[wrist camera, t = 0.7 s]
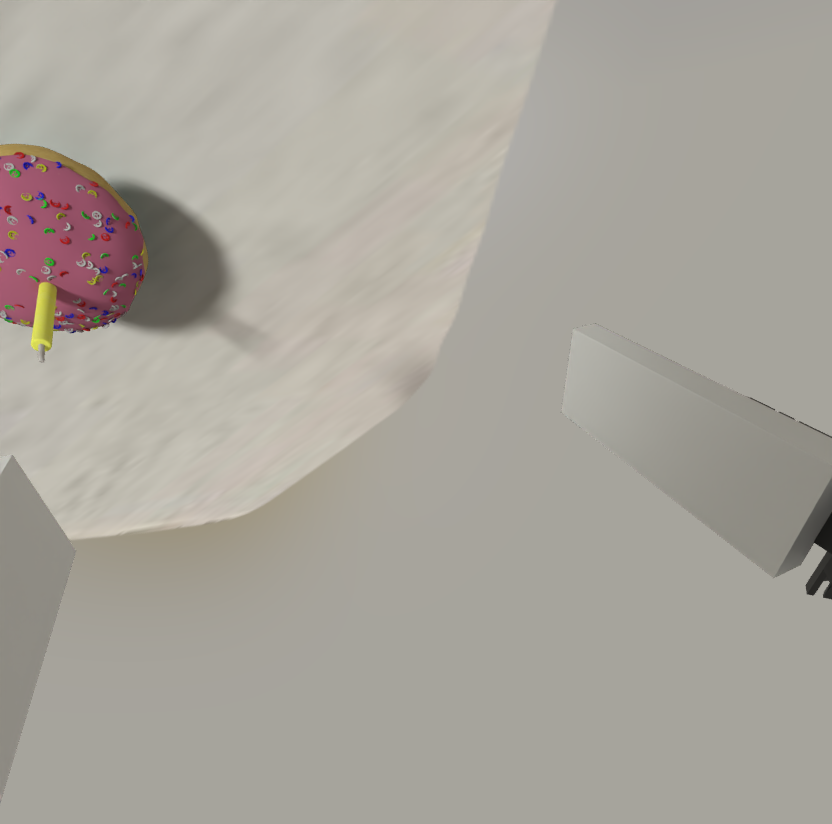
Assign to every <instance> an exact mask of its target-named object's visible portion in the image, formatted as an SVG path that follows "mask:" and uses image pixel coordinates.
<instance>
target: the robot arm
mask: <svg viewBox="0 0 832 824" xmlns="http://www.w3.org/2000/svg"><path fill="white" fill-rule="evenodd" d="M561 413H562V414H564V415H565V416H566V417H568V418H569V419H570V420H571V421H573V422H574V423H575V424H577V425H578V426H579V427H580V428H582V429H583V430H584V431H586V432H587V433H588V434H589V435H591V436H592V437H593V438H595V439H596V440H597V441H598V442H600V443H601V444H602V445H603V446H605V447H606V448H607V449H609V450H610V451H611V452H613V453H614V454H615V455H616V456H618V457H619V458H620V459H622V460H623V461H624V462H626V463H627V464H628V465H629V466H630V467H632V468H633V469H634V470H636V471H637V472H638V473H639V474H641V475H642V476H643V477H644V478H646V479H647V480H648V481H650V482H651V483H652V484H654V485H655V486H656V487H658V488H659V489H660V490H661V491H663V492H664V493H665V494H666V495H668V496H669V497H670V498H671V499H673V500H674V501H675V502H677V503H678V504H679V505H681V506H682V507H683V508H684V509H686V510H687V511H688V512H689V513H691V514H692V515H693V516H695V517H696V518H697V519H698V520H700V521H701V522H702V523H703V524H705V525H706V526H707V527H709V528H710V529H711V530H713V531H714V532H715V533H717V534H718V535H719V536H720V537H721V538H723V539H724V540H725V541H727V542H728V543H729V544H731V545H732V546H733V547H734V548H736V549H737V550H738V551H739V552H741V553H742V554H743V555H745V556H746V557H747V558H748V559H750V560H751V561H752V562H753V563H755V564H756V565H757V566H759V567H760V568H762V570H764V571H765V572H766V573H768V574H769V575H770V576H772V577H773V578H775V577H777V576H779V575H781V574H783V573H785V572H787V571H789V570H791V569H793V568H796V567H797V566H799V565H801V564H802V562H803V560H804V559H805V557H806V555H807V554H808V552H809V550H810V549H811V547H812V546H813V544H814V543H816V544H817V545H819V546H820V547H822V548H823V549H825V550H826V551H827V552H826V554H825V556H824V557H823V559H822V560H821V562H820V563H819V565H818V567H817V568H816V570H815V571H814V573H813V574H812V576H811V578H810V579H809V581H808V582H807V584H806V591H807V594H809V595H814V594H815V593H816V591H817V590H818V588H819V587H820V585H821V584H822V582H823V581H829V582H830V584H829V585H828V587H827V588H826V590H825V591H824V594H823V598H829V599H832V437H831V436H829V435H827V434H825V433H823V432H821V431H819V430H816V429H814V428H812V427H810V426H808V425H806V424H804V423H802V422H798V421H796V420H795V419H794V418H792V417H790V416H788V415H785V414H783V413H781V412H777V411H775V409H773V408H771V407H769V406H767V405H765V404H763V403H761V402H759V401H757V400H754V399H752V398H749V397H746V396H744V395H742V394H740V393H738V392H736V391H734V390H732V389H730V388H728V387H725V386H723V385H721V384H719V383H717V382H715V381H713V380H711V379H709V378H707V377H705V376H703V375H701V374H699V373H696V372H694V371H693V370H690V369H688V368H686V367H684V366H682V365H680V364H678V363H676V362H674V361H672V360H670V359H668V358H666V357H664V356H662V355H659V354H658V353H655V352H653V351H651V350H649V349H647V348H645V347H643V346H641V345H639V344H637V343H635V342H633V341H631V340H629V339H627V338H625V337H622V336H620V335H618V334H616V333H614V332H612V331H610V330H608V329H606V328H604V327H602V326H600V325H598V324H596V323H595V324H590V325H586V326H582V327H577V328H573V332H572V339H571V345H570V352H569V359H568V367H567V373H566V380H565V387H564V394H563V401H562V408H561ZM75 553H76V550H75V548H74V547H73V545H72V544H71V542H70V541H69V539H68V538H67V536H66V535H65V533H64V532H63V530H62V529H61V527H60V526H59V524H58V523H57V521H56V520H55V518H54V517H53V515H52V514H51V512H50V510H49V509H48V507H47V506H46V504H45V503H44V501H43V500H42V498H41V497H40V495H39V494H38V492H37V491H36V489H35V488H34V486H33V485H32V483H31V482H30V480H29V479H28V477H27V476H26V474H25V473H24V471H23V470H22V468H21V467H20V465H19V464H18V462H17V461H16V459H15V458H14V456H13V455H8V456H3V457H0V802H1V799H2V796H3V792H4V789H5V786H6V782H7V779H8V776H9V773H10V769H11V766H12V762H13V759H14V756H15V753H16V749H17V746H18V742H19V739H20V736H21V733H22V729H23V726H24V723H25V719H26V716H27V713H28V709H29V706H30V703H31V699H32V696H33V693H34V689H35V686H36V683H37V679H38V676H39V673H40V669H41V666H42V663H43V659H44V656H45V653H46V649H47V646H48V643H49V640H50V636H51V633H52V630H53V626H54V623H55V620H56V616H57V613H58V610H59V606H60V603H61V599H62V596H63V593H64V590H65V586H66V583H67V580H68V576H69V573H70V570H71V567H72V563H73V560H74V556H75Z"/></svg>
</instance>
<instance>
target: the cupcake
mask: <svg viewBox="0 0 832 824" xmlns="http://www.w3.org/2000/svg"><path fill="white" fill-rule="evenodd" d="M147 266H148V253H147V249H146V245H145V241H144V238H143V236H142V233H141V230H140V227H139V223H138V220H137V217H136V215H135V213H134V212H133V210H132V209H131V208H130V207H129V206H128V204H127V203H126V202H125V201H124V200H123V199H122V198H121V197H120V196H119V195H118V194H117V193H116V191H115V190H114V189H113V188H112V187H111V186H110V185H109V184H108V183H107V182H106V181H105V180H104V179H103V178H102V177H101V176H100V175H99V174H98V173H97V172H95V171H94V170H92V169H90V168H89V167H87V166H85V165H83V164H80V163H78V162H76V161H74V160H72V159H70V158H68V157H66V156H64V155H62V154H59V153H57V152H55V151H53V150H50V149H47V148H44V147H40V146H34V145H25V144H6V145H0V318H3V319H4V320H5V321H7V322H10V323H13V324H19V325H21V326H29V327H33V333H32V340H31V346H32V347H33V348H34V349H35V350H37V351H38V360H39V362H41V363H43V362H44V360H45V359H44V355H45V351H48V350H50V349H51V347H52V338H53V331H66V332H68V333H74V332H76V331H78V332H81V333H82V332H84V331H83V330H85V331H90V329H97V328H98V327H100V326H102V327H103V328H107V327H109V323H110V322H112V323H115V322H116V319H118V318H119V317H121V316H124V315H125V314H126V312H127V311H128V310H129V308H130V305H131V303H132V301H133V299H134V297H135V295H136V293H137V292H138V290H139V288H140V286H141V284H142V281H143V279H144V277H145V274H146V271H147ZM106 324H107V325H106ZM104 325H105V326H106V327H105V326H104ZM72 331H73V332H72Z"/></svg>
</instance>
